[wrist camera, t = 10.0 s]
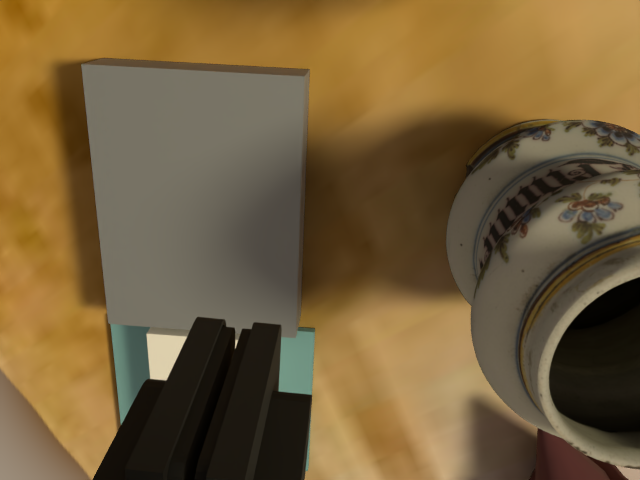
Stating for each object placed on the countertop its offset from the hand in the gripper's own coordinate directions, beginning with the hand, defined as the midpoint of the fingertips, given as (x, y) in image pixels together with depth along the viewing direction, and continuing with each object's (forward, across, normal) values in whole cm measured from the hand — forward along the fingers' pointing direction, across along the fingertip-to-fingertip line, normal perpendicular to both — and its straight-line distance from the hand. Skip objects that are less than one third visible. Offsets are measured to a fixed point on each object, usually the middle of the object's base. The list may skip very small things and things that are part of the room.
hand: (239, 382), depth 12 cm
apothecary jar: (+26, -13, +5) cm, 29 cm away
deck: (+26, +7, +6) cm, 27 cm away
